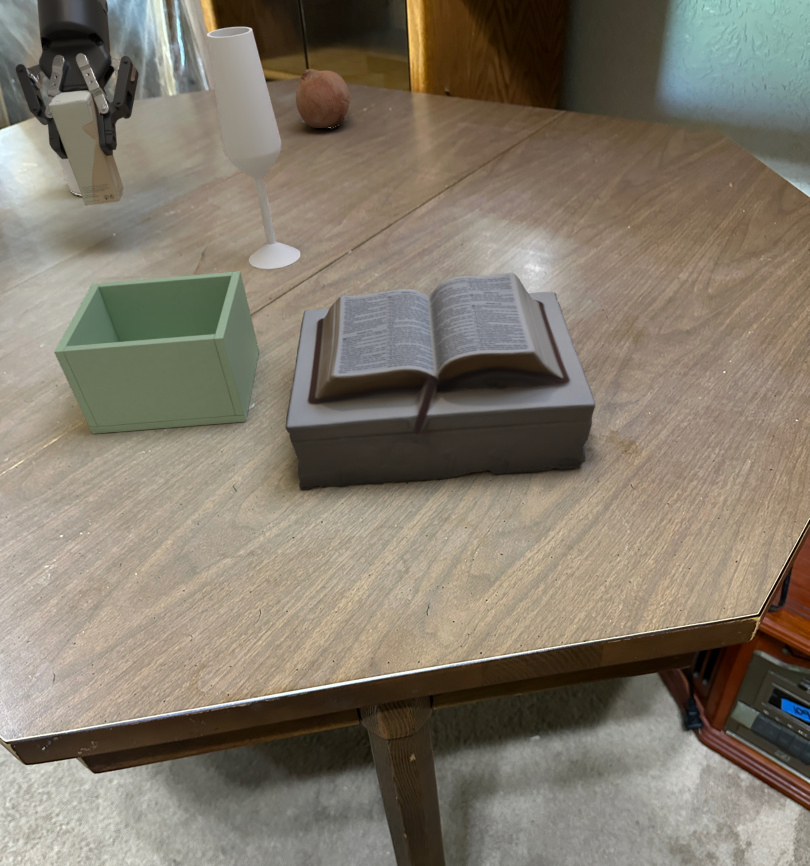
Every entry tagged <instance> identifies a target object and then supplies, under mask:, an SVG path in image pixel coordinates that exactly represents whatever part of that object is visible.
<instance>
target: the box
mask: <svg viewBox="0 0 810 866" xmlns="http://www.w3.org/2000/svg"><path fill="white" fill-rule="evenodd" d="M49 107H50V110H51V113H52V115H53V118H54V121H55V124H56V127H57V129H58V132H59V135H60V138H61V140H62V143H63V146H64V149H65V151H66V154H67V157H68V160H69V162H70V165H71V168H72V170H73V173H74V176H75V178H76V181H77V184H78V187H79V189H80V192H81V195H82V196H81V197H82V200H83V203H84V205H85V206H92V205H93V206H94V205H100V204H107V203H116V202H120V200H121V199H122V195H123V192H124V184H123V181H122V178H121V175H120V171H119V168H118V166H117V162H116V160H115V156H114V154H113V155H111V156H106V155H105V154H104V152H103V151H102V150H101V148H100V145H99V134H98V121H97V116H99V115H100V112H99V110H98V108H97V105H96V103H95V101H94V98H93V96H92V95H91V93H90V91H89V90H84V91H74V92H65V93H60V94H59V95H57V96H55V97H54V98H53V99H52V101H51V102H50V104H49Z"/></svg>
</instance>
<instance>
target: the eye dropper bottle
mask: <svg viewBox="0 0 810 866" xmlns="http://www.w3.org/2000/svg"><path fill="white" fill-rule="evenodd" d="M55 155H56V158H57V161H58V163H59V166H60V168H61V171H62V173H63V176H64V178H65V182H66V184H67V186H68V189H69V191H70V190H71V191H72V192H74V193H77V194H81V192H80V189H79V187H78V184H77V181H76V178H75V176H74V173H73V170H72V168H71V165H70V162H69V160H68V159H61V158H60V157H59V155H58V154H57V153H56V152H55ZM71 191H70V192H71Z"/></svg>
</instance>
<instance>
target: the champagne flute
mask: <svg viewBox="0 0 810 866" xmlns="http://www.w3.org/2000/svg"><path fill="white" fill-rule="evenodd" d="M206 39H207V46H208V53H209V59H210V67H211V73H212V74H211V75H212V82H213V89H214V95H215V96H214V97H215V102H216V108H217V109H216V111H217V116H218V123H219V130H220V131H219V132H220V138H221V144H222V151H223V153H224V156H225V157H226V158H227V160H228V161H229V162H230V163H231V164H232V165H233V166H234V167H235V168H236V169H238V170H239V171H240V172H242V173H243V174H245V175H246V176H248V177H250V178H253V180H254V181H253V182H254V186H255V191H256V196H257V201H258V205H259V211H260V215H261V219H262V225H263V230H264V235H265V240H266V243H265V244H263V245H262V246H260V247H259V248H258V249H257V250H256V251H254V252H253V253H252V254H251V255H250V256H249V258H248V263H249V265H250V266H252V267H254V268H257V269H260V270H274V269H281V268H285V267H287V266H291V265H292V264H294V263H296V262H297V261H298V260H299V259H300V257H301V251H300V250H299V249H297V248H296V247H294V246H291V245H288V244H285V243H282V242H279V241H277V239H276V238H277V237H276V232H275V228H274V223H273V217H272V212H271V208H270V207H271V206H270V202H269V197H268V192H267V186H266V183H265V182H266V181H265V177H266V176H267V174H269V173H270V171H271V170H272V168H273V167H274V165H275V164H276V163H277V161H278V158H279V155H280V154H281V150H282V139H281V135H280V131H279V127H278V124H277V119H276V115H275V112H274V107H273V104H272V101H271V97H270V92H269V89H268V85H267V81H266V77H265V73H264V70H263V65H262V62H261V58H260V54H259V50H258V46H257V43H256V39H255V35H254V31H253V28H252V27H248V26H231V27H224V28H218V29H215V30H212V31H210V32H208V33H207V34H206Z"/></svg>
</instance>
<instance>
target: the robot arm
mask: <svg viewBox="0 0 810 866" xmlns="http://www.w3.org/2000/svg"><path fill="white" fill-rule="evenodd" d="M36 3H37V15H38V27H39V28H38V29H39V39H40V46H41V54H40V57H39V59H38V64H35V65H32V66H29V67H26V66H25V65H24V64H22V63H19V64H16V67H15V73H16V75H17V79H18V81H19V84H20V87H21V90H22V93H23V95H24V99H25V101H26V104H27V106H28V109H29V112H30V113H31V114H32V115H33V116H34V117H35V119H37V121H38V122H39V123H40V124H41V125H43V126H47V131H48V132H47V133H48V142H49V147H50V148H51V149H52V151H54V153H55V154H56V153H57V154H58V155H59V157H60V158H61V159H68V157H67V154H66V151H65V149H64V146H63V143H62V140H61V138H60V135H59V132H58V129H57V127H56V124H55V121H54V118H53V115H52V113H51V110H50V107H49V104H50V102H51V101H52V99H53V98H54V97H55V96H57V95H59V94H60V93H65V92H74V91H84V90H89V91H90V93H91V95H92V96H93V98H94V101H95V103H96V105H97V108H98V110H99V113H100V115H99V116H97V121H98V134H99V145H100V148H101V150H102V151H103V152H104V154H105V155H106V156H111V155H113V156H114V151H116V150H117V147H118V141H117V129H116V124H117V122H118V121H119V120H120V119H122V118H123V119H125V120H127V119H128V120H129V119H130V118H131V117H132V113H133V107H134V102H135V97H136V91H137V87H138V86H137V85H138V80H139V75H140V74H139V71H138V69H137V67H136V65H135V64H134V62H133V61H132V59H131V58H130V56H128V55H123V56H121V57H120V59H119V58H115V57H113V56H112V55H111V41H110V29H109V27H110V26H109V16H108V12H109V5H108V1H107V0H37V1H36ZM113 75H115V76H116V83H115V88H114V94H113V99H112V101H111V100H110V98H109V95H108V93H107V91H106V86H107V85H108V83H109V81H110V79H111V78H112V76H113ZM45 77H46V78H47V79H48V80H49V83H48V87H47V91H46V92H47V93H46V94H47V97H48V98H47V102H46V104H45V101H44V98H43V95H42V93H41V92H42V91H41V90H43V88H44V87H43V79H44V78H45Z"/></svg>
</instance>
